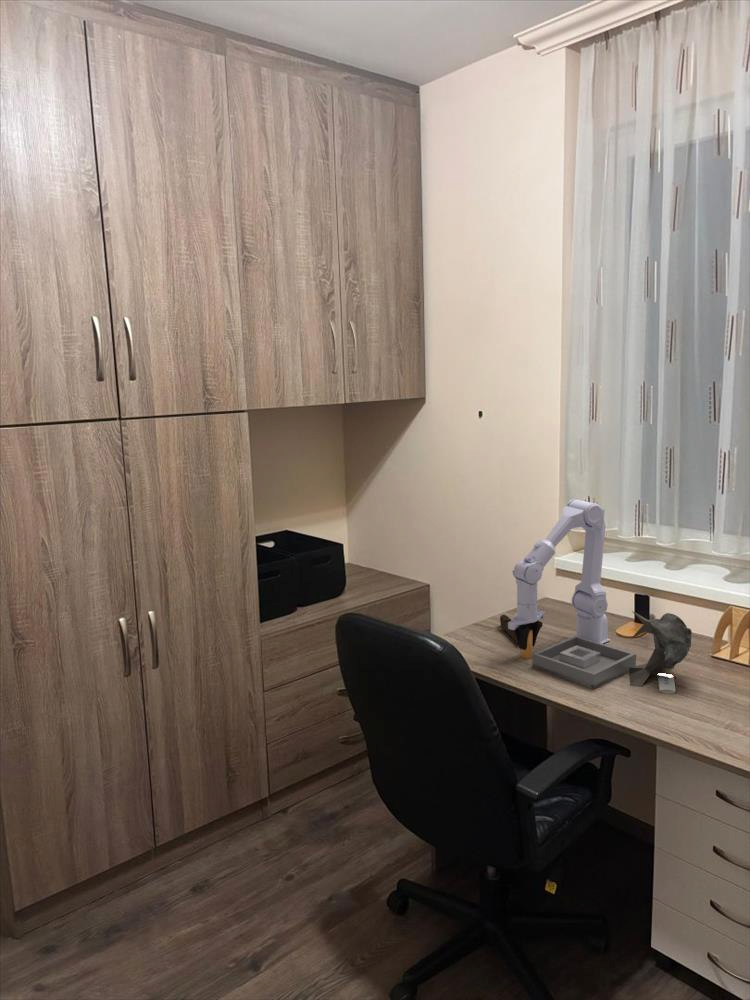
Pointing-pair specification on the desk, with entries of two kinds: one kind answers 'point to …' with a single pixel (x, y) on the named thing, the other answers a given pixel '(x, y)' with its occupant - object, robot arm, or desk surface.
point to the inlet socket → (580, 657)
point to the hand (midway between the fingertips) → (526, 647)
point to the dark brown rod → (504, 626)
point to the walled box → (592, 676)
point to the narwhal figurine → (662, 647)
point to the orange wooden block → (528, 647)
